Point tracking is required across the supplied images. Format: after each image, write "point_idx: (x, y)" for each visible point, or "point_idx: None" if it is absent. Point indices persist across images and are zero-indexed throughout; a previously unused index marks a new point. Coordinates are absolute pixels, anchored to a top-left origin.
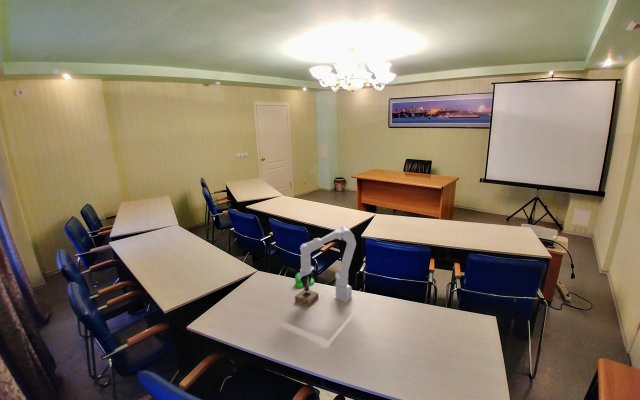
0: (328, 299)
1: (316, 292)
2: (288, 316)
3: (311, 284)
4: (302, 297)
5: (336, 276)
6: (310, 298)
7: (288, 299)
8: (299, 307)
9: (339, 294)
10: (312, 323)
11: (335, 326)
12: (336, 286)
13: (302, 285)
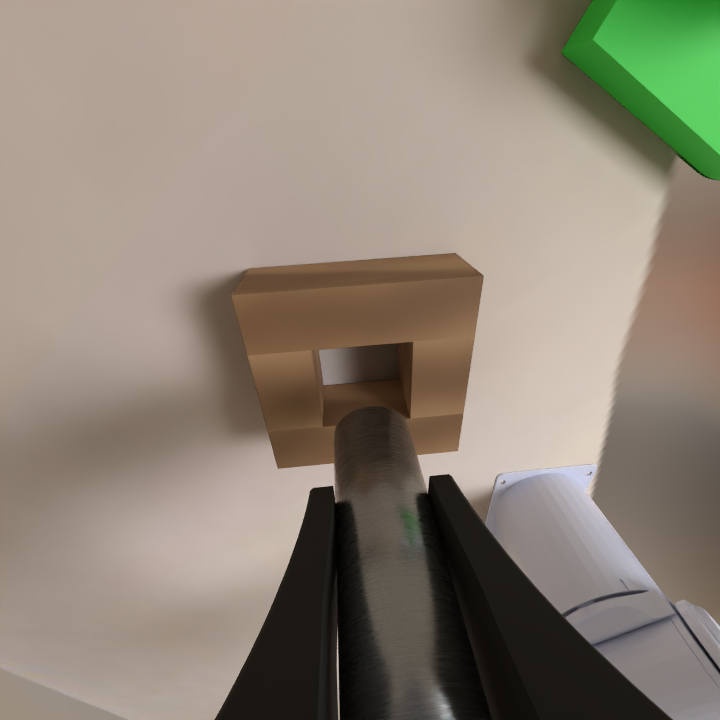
0: (461, 467)
1: (459, 433)
2: (25, 392)
3: (707, 173)
4: (279, 390)
5: (680, 714)
6: (324, 456)
7: (209, 151)
8: (207, 377)
9: (512, 550)
10: (158, 537)
11: (246, 598)
12: (559, 602)
13: (631, 84)
